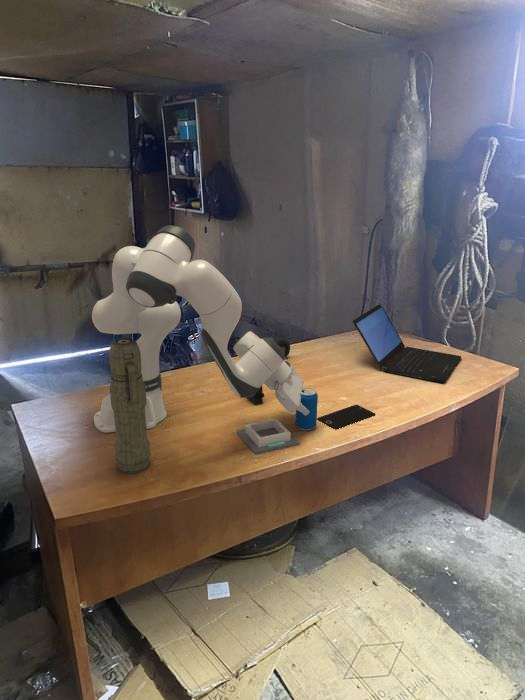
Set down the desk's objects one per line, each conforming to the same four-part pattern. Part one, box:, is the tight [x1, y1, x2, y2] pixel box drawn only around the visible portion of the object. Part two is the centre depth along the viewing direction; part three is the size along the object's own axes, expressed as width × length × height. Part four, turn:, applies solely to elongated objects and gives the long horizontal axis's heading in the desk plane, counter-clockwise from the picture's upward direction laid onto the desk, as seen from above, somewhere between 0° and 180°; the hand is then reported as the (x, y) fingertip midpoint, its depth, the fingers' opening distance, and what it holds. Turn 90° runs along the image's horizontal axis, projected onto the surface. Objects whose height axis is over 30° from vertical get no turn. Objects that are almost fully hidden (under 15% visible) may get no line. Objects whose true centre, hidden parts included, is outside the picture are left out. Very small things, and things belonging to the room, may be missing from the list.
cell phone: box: [317, 404, 376, 431], centre depth 171 cm, size 9×18×1 cm, turn 126°
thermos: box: [108, 337, 151, 475], centre depth 137 cm, size 9×12×35 cm
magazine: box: [246, 385, 265, 406], centre depth 183 cm, size 4×13×15 cm, turn 27°
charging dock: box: [236, 418, 301, 455], centre depth 157 cm, size 14×14×3 cm
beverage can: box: [294, 386, 319, 431], centre depth 163 cm, size 6×6×12 cm
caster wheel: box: [273, 337, 291, 360], centre depth 218 cm, size 6×10×15 cm
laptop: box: [352, 303, 462, 384], centre depth 217 cm, size 33×38×19 cm
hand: (308, 407), depth 163 cm, fingers closed on beverage can, 6 cm apart
